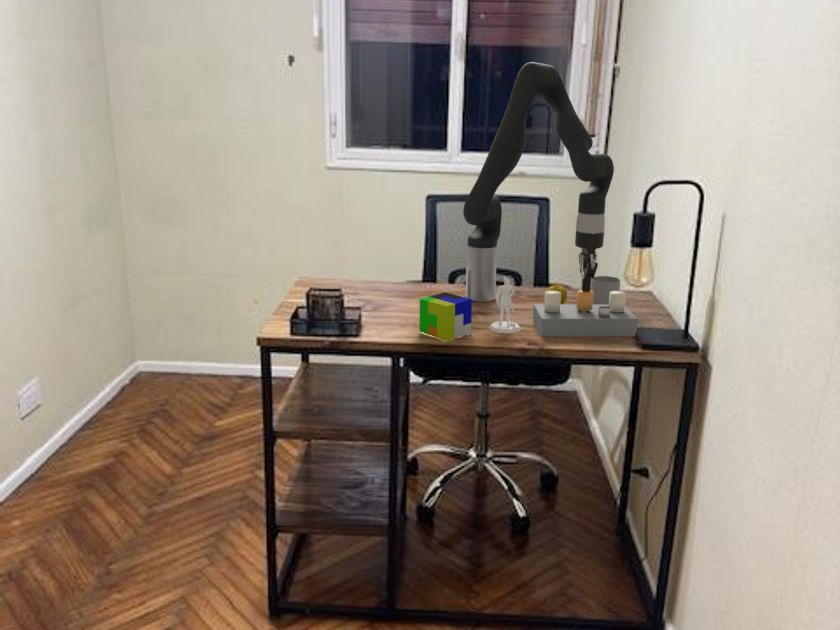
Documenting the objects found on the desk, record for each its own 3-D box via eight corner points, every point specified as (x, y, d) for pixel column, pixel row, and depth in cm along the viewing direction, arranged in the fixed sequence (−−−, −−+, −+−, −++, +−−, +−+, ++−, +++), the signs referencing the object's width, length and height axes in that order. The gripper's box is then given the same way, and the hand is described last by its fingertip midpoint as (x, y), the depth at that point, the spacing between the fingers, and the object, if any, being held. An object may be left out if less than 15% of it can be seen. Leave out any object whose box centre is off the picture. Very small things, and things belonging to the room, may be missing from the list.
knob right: (609, 326, 210) (611, 294, 208) (605, 321, 214) (607, 290, 212) (625, 326, 210) (627, 295, 208) (620, 321, 214) (623, 290, 212)
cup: (620, 315, 225) (623, 282, 222) (592, 315, 225) (595, 282, 222) (613, 307, 233) (616, 276, 230) (586, 307, 233) (589, 275, 230)
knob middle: (577, 324, 210) (579, 293, 207) (573, 320, 214) (575, 289, 211) (592, 324, 210) (595, 293, 207) (589, 320, 214) (591, 289, 212)
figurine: (488, 332, 209) (490, 279, 204) (489, 322, 217) (491, 272, 213) (520, 334, 207) (523, 281, 203) (520, 324, 216) (523, 273, 211)
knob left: (544, 326, 210) (546, 294, 207) (542, 321, 214) (543, 290, 211) (560, 326, 210) (562, 294, 207) (557, 321, 214) (559, 290, 212)
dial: (599, 317, 205) (600, 308, 205) (596, 314, 208) (597, 304, 208) (611, 317, 205) (612, 308, 205) (608, 314, 208) (609, 305, 208)
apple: (546, 311, 229) (548, 285, 226) (543, 305, 235) (544, 280, 232) (568, 311, 229) (569, 285, 226) (563, 305, 235) (565, 280, 232)
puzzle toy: (471, 334, 207) (472, 299, 204) (445, 342, 200) (446, 306, 198) (444, 326, 214) (445, 292, 211) (419, 333, 207) (419, 298, 204)
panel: (540, 336, 206) (541, 318, 204) (532, 320, 219) (533, 304, 218) (635, 336, 206) (637, 318, 205) (622, 321, 219) (623, 304, 218)
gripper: (571, 225, 211) (567, 285, 216) (581, 233, 198) (577, 297, 203) (597, 225, 211) (593, 285, 216) (610, 233, 198) (605, 297, 203)
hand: (585, 291), depth 209 cm, fingers closed
